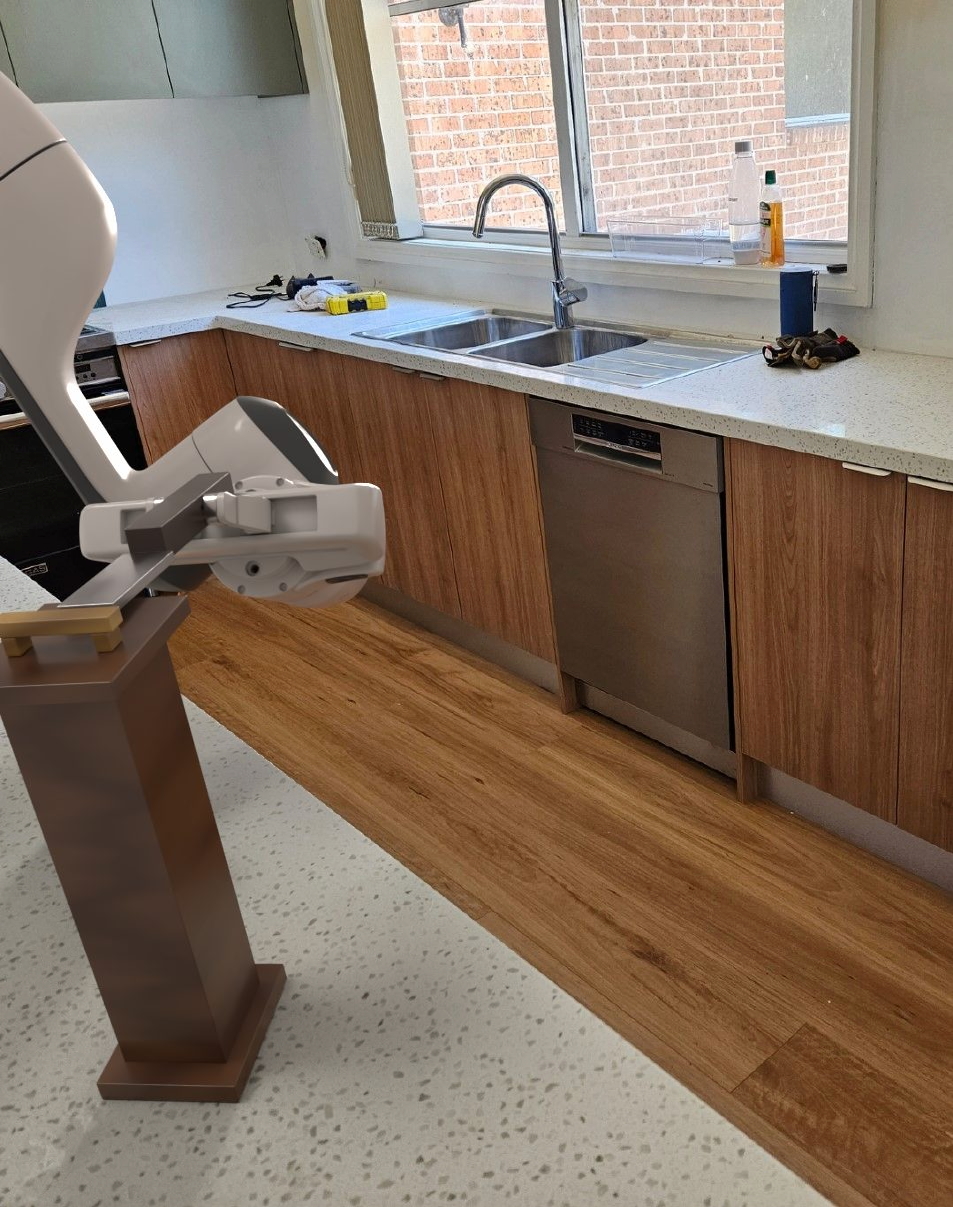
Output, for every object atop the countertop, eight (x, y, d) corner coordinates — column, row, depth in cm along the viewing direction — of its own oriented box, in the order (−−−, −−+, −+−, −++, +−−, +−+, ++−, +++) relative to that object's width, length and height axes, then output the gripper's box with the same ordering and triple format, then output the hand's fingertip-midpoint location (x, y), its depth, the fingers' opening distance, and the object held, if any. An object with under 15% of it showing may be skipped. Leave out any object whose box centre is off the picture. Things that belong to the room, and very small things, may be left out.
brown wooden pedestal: (101, 1099, 59) (-68, 654, 47) (165, 977, 67) (34, 571, 55) (239, 1102, 58) (99, 645, 46) (287, 978, 66) (179, 562, 54)
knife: (59, 617, 53) (48, 580, 52) (198, 503, 70) (192, 474, 69) (115, 614, 52) (105, 576, 52) (242, 500, 69) (236, 470, 68)
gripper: (135, 506, 80) (26, 470, 66) (402, 485, 76) (345, 443, 63) (136, 590, 79) (27, 571, 66) (405, 573, 76) (348, 550, 62)
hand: (185, 508), depth 64 cm, fingers closed on knife, 2 cm apart
